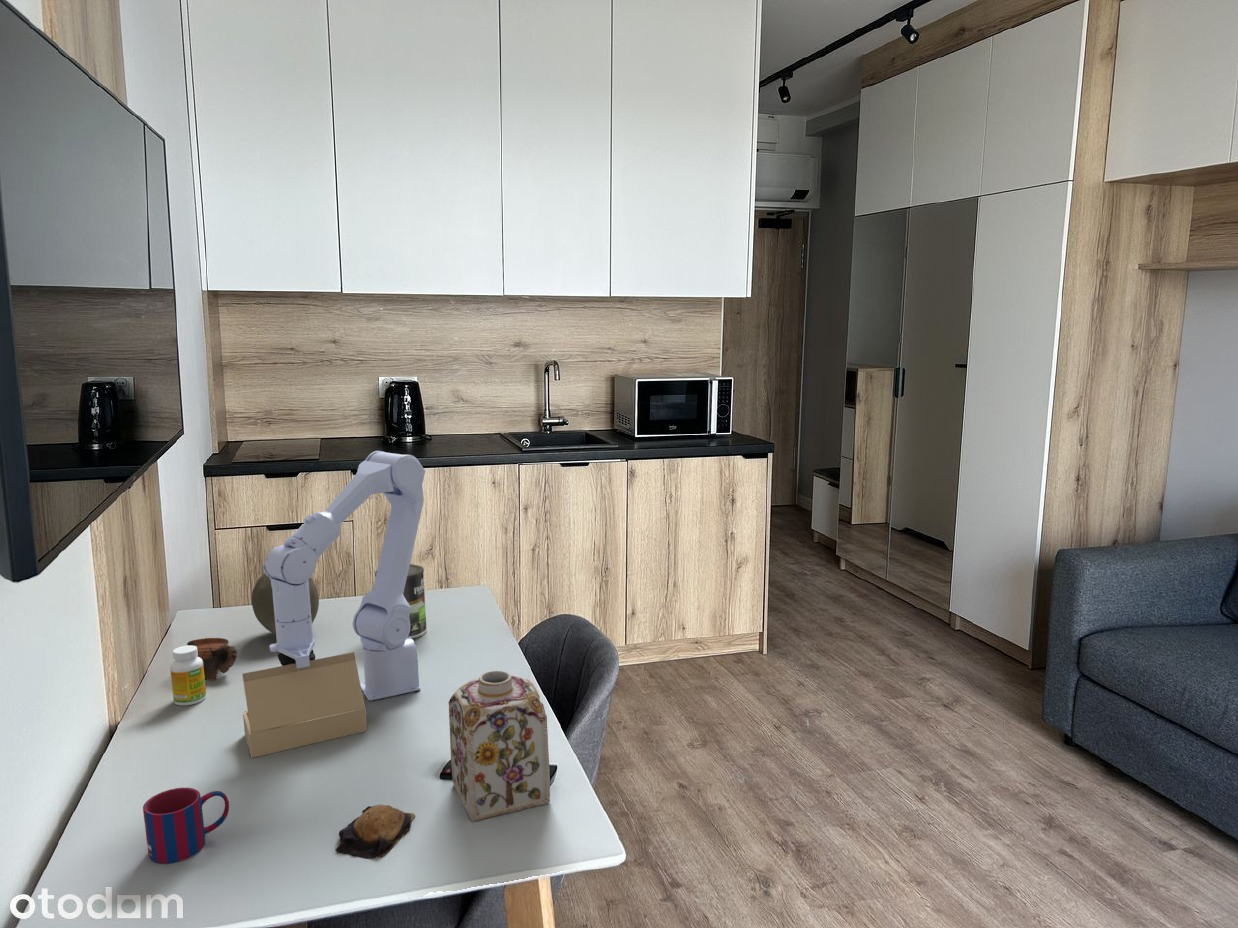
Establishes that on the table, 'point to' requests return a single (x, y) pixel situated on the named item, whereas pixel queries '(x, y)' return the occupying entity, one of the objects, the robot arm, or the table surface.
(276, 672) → the lid flap
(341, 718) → the carton
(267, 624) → the cantaloupe
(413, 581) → the coffee can
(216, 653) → the pottery mug
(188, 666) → the supplement bottle
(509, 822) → the table surface
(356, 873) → the table surface
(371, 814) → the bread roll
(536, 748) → the decorative jar
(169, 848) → the cup
